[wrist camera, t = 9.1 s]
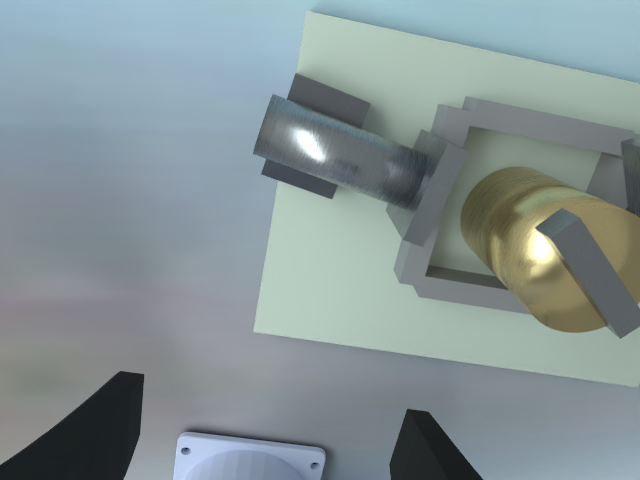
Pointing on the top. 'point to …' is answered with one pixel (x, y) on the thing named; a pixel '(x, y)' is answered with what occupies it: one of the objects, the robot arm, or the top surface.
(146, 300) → the top surface
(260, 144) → the shaft
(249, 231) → the top surface
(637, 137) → the shaft
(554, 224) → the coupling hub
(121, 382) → the robot arm
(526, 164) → the bench plate
